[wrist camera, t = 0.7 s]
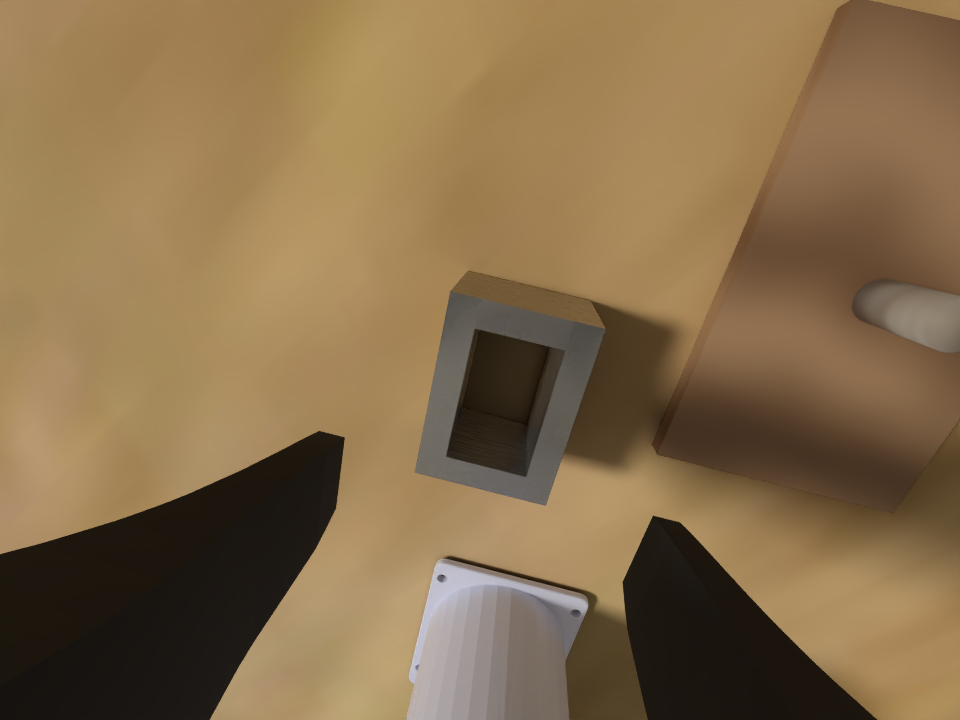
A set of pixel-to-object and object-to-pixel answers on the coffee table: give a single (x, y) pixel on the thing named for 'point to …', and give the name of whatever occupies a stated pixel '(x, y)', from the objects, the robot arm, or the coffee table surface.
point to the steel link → (542, 441)
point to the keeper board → (842, 279)
